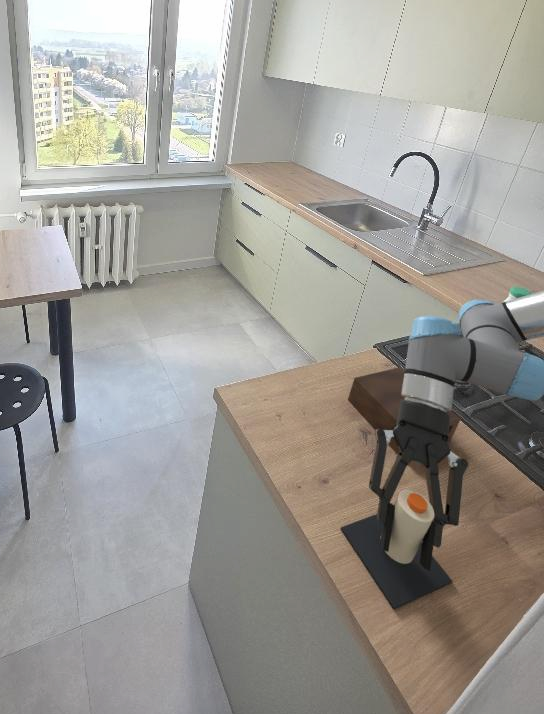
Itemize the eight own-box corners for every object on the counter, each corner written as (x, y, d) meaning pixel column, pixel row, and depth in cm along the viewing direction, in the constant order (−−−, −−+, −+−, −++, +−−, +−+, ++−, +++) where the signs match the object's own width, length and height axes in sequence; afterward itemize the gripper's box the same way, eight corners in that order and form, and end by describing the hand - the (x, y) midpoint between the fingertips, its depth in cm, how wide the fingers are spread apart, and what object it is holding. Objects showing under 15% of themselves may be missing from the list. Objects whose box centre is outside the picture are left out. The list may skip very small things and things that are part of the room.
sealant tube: (420, 558, 68) (444, 512, 63) (396, 568, 67) (419, 522, 62) (396, 526, 73) (416, 481, 68) (373, 535, 71) (392, 490, 66)
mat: (451, 583, 67) (452, 581, 67) (393, 609, 64) (394, 608, 63) (393, 509, 78) (394, 507, 77) (340, 528, 74) (340, 527, 74)
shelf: (450, 441, 92) (460, 418, 89) (400, 457, 87) (410, 434, 85) (392, 387, 105) (400, 366, 103) (347, 399, 101) (354, 377, 98)
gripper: (478, 425, 72) (462, 579, 65) (364, 388, 79) (340, 524, 72) (497, 426, 66) (482, 598, 59) (372, 386, 72) (345, 535, 65)
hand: (404, 557), depth 65 cm, fingers closed on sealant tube, 5 cm apart
